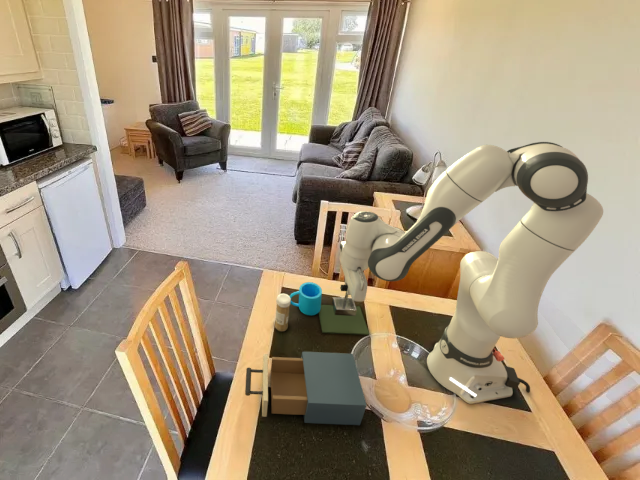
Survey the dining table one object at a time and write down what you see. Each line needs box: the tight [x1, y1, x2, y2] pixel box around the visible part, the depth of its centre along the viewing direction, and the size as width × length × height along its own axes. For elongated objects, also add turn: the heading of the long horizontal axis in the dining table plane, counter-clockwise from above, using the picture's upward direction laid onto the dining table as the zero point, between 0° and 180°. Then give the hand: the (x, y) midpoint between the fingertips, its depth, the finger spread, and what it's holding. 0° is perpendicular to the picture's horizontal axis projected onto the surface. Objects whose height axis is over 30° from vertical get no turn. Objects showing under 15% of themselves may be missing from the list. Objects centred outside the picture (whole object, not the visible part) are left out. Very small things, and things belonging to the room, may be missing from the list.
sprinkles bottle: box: [274, 293, 292, 332], centre depth 106 cm, size 5×5×14 cm
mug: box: [289, 281, 323, 316], centre depth 115 cm, size 12×8×8 cm
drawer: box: [244, 353, 308, 418], centre depth 87 cm, size 18×13×7 cm
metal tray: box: [331, 284, 357, 316], centre depth 108 cm, size 7×5×11 cm
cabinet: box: [300, 351, 368, 426], centre depth 87 cm, size 15×14×9 cm
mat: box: [318, 304, 370, 336], centre depth 113 cm, size 16×12×1 cm
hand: (348, 290), depth 106 cm, fingers closed on metal tray
